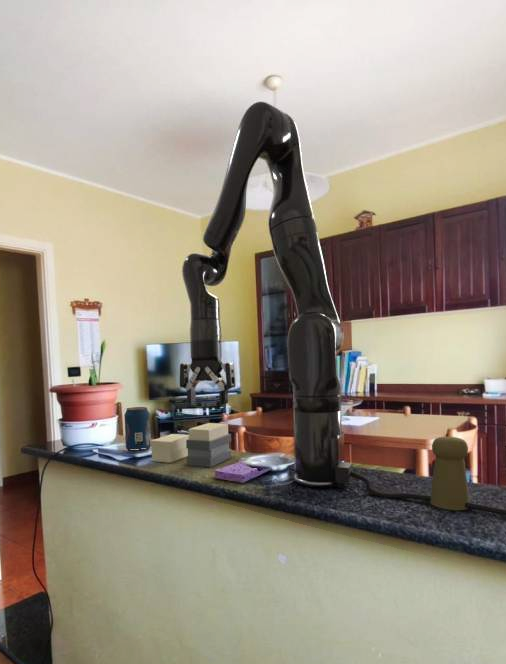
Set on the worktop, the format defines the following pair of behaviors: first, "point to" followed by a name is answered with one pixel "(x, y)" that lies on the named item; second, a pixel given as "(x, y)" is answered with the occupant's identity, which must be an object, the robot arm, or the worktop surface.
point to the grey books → (208, 451)
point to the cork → (449, 474)
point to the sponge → (238, 472)
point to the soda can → (137, 429)
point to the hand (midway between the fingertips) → (207, 405)
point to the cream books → (169, 448)
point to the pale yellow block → (208, 431)
